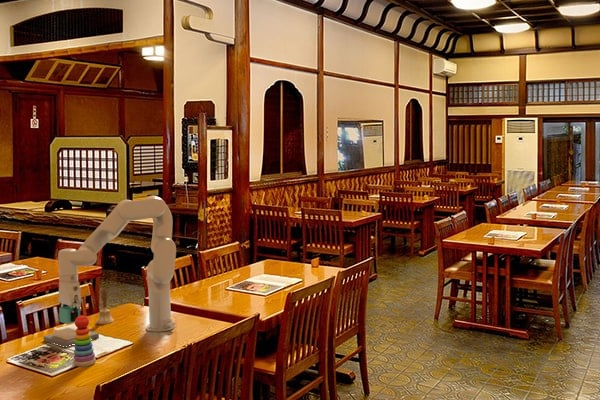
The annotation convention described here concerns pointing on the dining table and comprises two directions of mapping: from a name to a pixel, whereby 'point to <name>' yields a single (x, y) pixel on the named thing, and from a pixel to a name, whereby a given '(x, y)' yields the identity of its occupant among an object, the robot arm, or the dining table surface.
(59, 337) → the stack base
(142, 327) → the dining table surface
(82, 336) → the stacking toy
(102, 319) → the hand bell
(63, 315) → the teal cube
